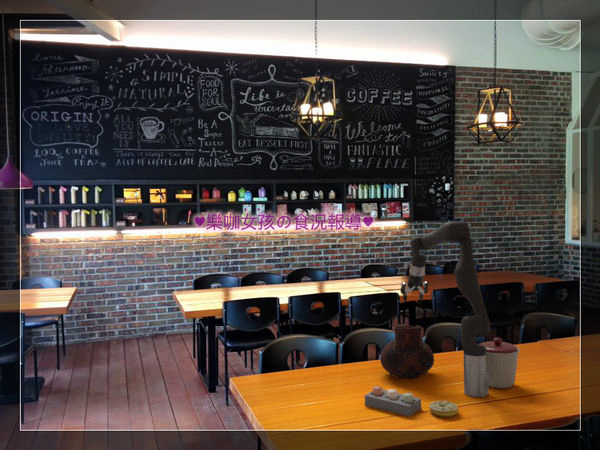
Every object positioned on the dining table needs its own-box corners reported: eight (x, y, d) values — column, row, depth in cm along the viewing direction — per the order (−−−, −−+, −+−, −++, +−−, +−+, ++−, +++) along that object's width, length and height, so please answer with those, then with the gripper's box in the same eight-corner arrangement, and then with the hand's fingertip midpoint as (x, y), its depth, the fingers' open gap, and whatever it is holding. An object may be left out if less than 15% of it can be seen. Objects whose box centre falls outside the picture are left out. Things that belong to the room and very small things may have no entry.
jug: (430, 367, 261) (429, 317, 260) (438, 384, 236) (437, 329, 235) (379, 367, 263) (378, 317, 263) (382, 384, 238) (380, 329, 238)
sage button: (415, 404, 207) (415, 394, 207) (410, 407, 204) (410, 397, 204) (406, 402, 210) (406, 392, 210) (401, 405, 207) (401, 395, 207)
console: (421, 408, 209) (421, 398, 209) (409, 416, 201) (408, 406, 201) (377, 397, 222) (377, 388, 222) (364, 405, 214) (364, 395, 214)
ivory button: (399, 400, 212) (399, 390, 212) (394, 403, 209) (394, 393, 209) (390, 398, 214) (390, 388, 214) (385, 401, 211) (385, 391, 211)
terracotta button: (384, 397, 216) (384, 387, 216) (379, 400, 213) (379, 389, 213) (376, 395, 219) (375, 385, 219) (370, 398, 216) (370, 387, 216)
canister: (524, 393, 222) (523, 343, 222) (479, 391, 226) (478, 342, 225) (515, 378, 240) (515, 333, 239) (474, 377, 244) (473, 332, 243)
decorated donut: (444, 406, 211) (444, 397, 211) (463, 415, 202) (463, 405, 202) (424, 411, 206) (423, 401, 206) (443, 421, 197) (442, 411, 197)
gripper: (406, 276, 266) (402, 304, 272) (432, 275, 269) (428, 303, 274) (401, 269, 272) (397, 297, 278) (426, 268, 275) (422, 296, 281)
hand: (412, 300), depth 276 cm, fingers open, 8 cm apart
